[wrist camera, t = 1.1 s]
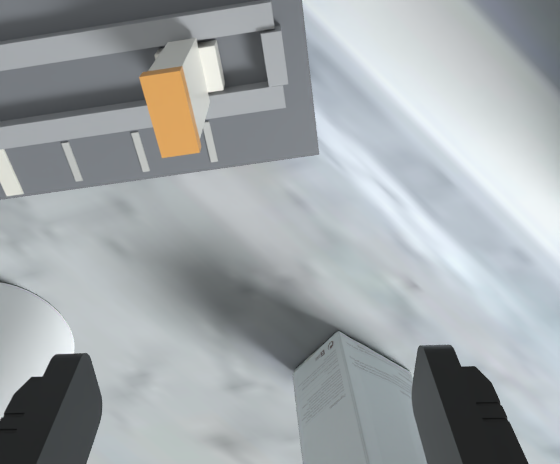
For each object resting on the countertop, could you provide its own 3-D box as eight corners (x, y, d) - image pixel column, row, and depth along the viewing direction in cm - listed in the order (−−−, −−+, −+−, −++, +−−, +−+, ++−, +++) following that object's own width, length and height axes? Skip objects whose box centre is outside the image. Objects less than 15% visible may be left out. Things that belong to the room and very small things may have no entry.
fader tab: (214, 27, 27) (198, 68, 20) (227, 93, 29) (216, 150, 22) (155, 36, 27) (121, 79, 21) (172, 101, 29) (145, 160, 22)
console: (290, -88, 26) (293, -86, 23) (316, 141, 32) (321, 164, 30) (-174, -10, 27) (-226, 1, 25) (-63, 195, 34) (-93, 222, 31)
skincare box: (290, 370, 43) (301, 568, 30) (340, 324, 40) (375, 518, 28) (368, 412, 46) (407, 609, 33) (419, 371, 43) (482, 567, 30)
